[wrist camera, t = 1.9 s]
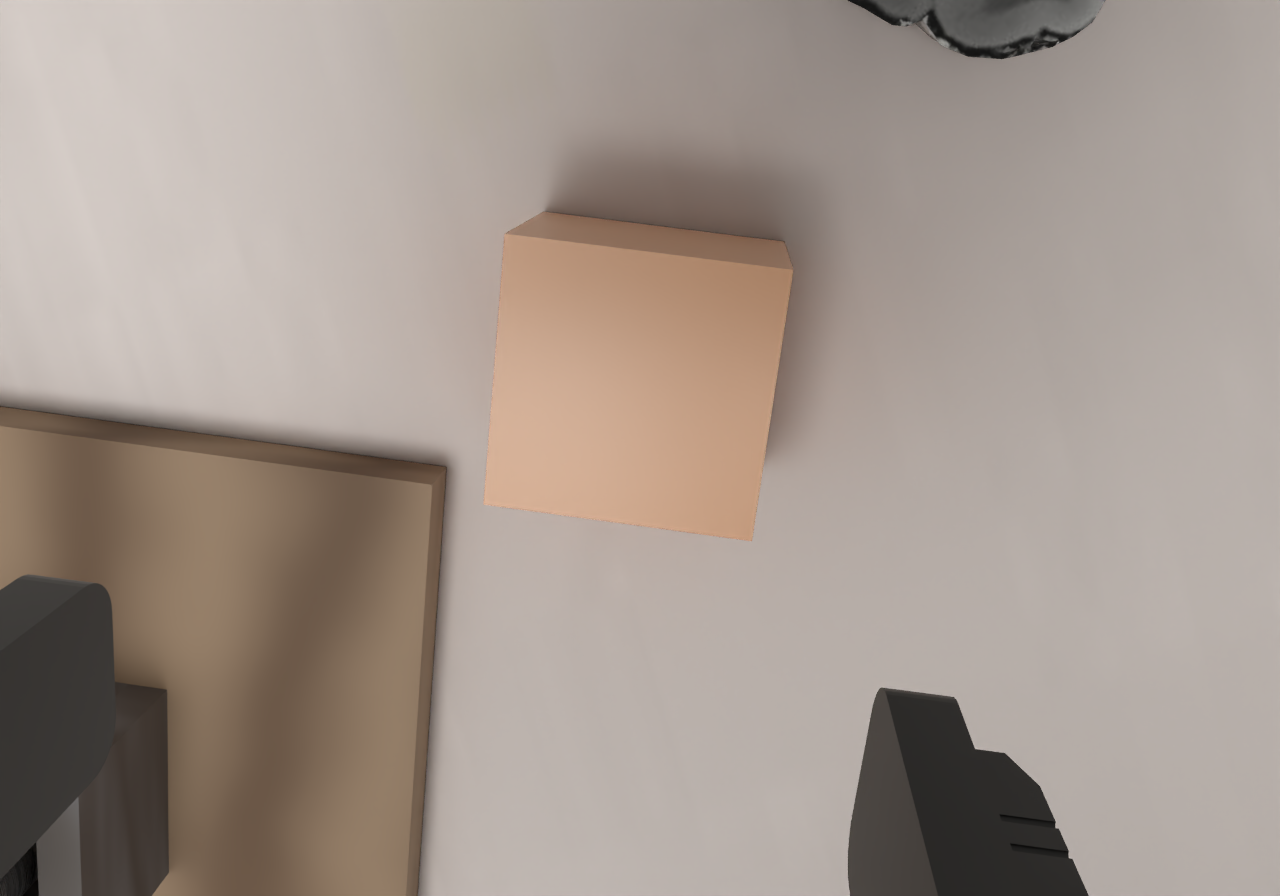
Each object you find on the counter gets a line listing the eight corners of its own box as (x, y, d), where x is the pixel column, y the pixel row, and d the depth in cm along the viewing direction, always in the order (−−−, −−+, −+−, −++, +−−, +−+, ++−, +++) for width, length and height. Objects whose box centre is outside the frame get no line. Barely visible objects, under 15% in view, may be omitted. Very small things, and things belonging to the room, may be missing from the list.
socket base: (446, 466, 31) (379, 550, 25) (406, 1059, 37) (345, 1237, 31) (-269, 370, 32) (-492, 429, 26) (-196, 964, 38) (-364, 1119, 32)
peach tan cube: (784, 241, 28) (793, 270, 24) (749, 471, 30) (751, 541, 25) (543, 211, 29) (504, 233, 24) (523, 441, 30) (483, 504, 26)
